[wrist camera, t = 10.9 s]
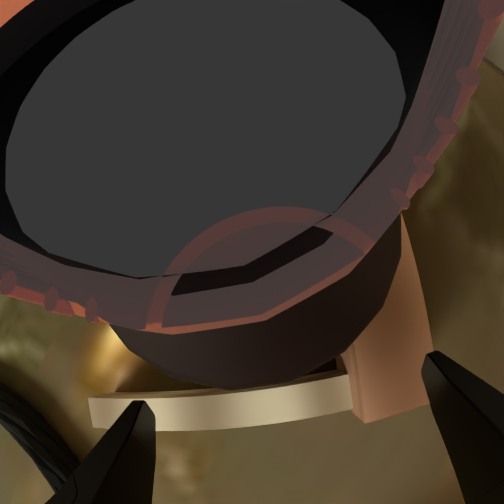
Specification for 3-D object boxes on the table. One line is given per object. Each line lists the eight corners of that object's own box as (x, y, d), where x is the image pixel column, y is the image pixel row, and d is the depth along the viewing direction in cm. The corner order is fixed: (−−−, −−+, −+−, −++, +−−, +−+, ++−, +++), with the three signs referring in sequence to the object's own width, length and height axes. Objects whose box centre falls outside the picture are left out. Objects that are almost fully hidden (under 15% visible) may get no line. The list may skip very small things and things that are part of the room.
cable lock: (83, 628, 7) (-76, 461, 14) (97, 614, 11) (-59, 459, 17) (167, 537, 13) (-57, 301, 19) (183, 513, 17) (-33, 308, 23)
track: (353, 181, 22) (371, 132, 16) (398, 387, 18) (438, 399, 12) (104, 226, 23) (62, 194, 17) (119, 421, 19) (71, 438, 13)
